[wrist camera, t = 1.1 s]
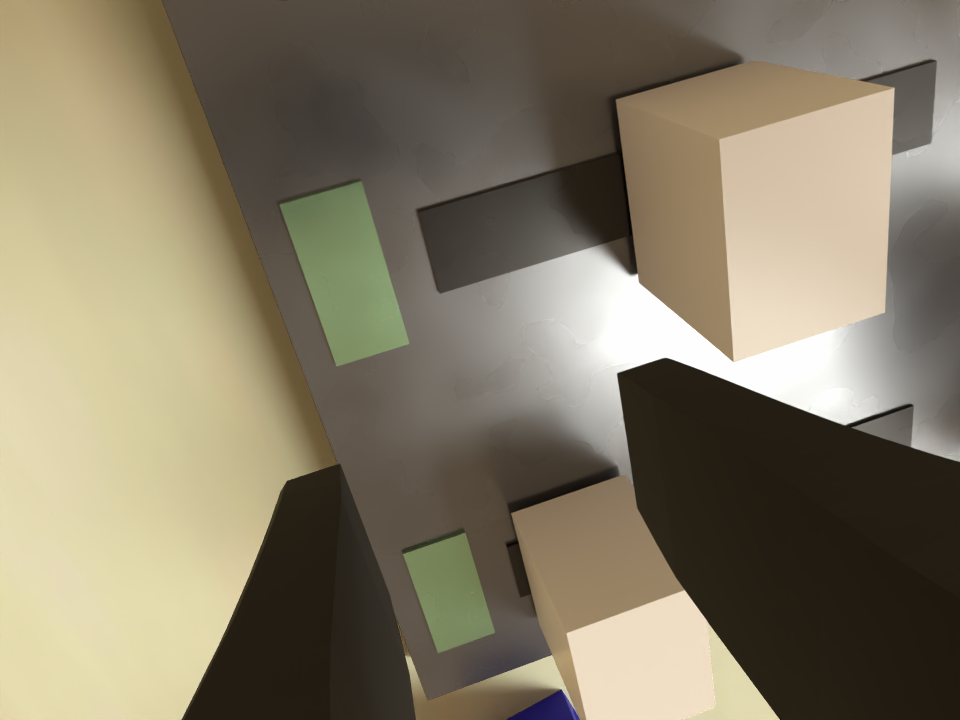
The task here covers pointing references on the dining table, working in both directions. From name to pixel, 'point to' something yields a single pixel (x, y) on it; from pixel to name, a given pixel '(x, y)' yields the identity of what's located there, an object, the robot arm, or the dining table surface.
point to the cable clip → (549, 709)
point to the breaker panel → (538, 255)
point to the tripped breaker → (761, 201)
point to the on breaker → (614, 608)
